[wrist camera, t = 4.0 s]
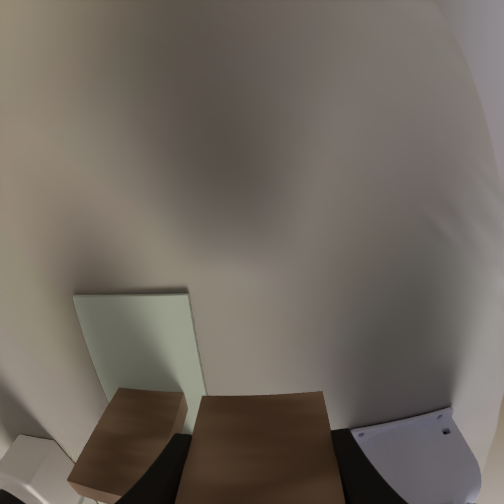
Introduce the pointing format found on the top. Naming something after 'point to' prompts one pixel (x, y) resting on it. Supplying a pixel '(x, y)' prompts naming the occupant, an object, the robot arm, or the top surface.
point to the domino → (127, 442)
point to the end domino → (261, 452)
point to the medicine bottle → (36, 473)
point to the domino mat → (144, 345)
